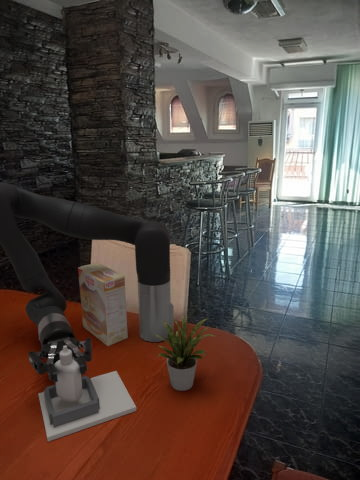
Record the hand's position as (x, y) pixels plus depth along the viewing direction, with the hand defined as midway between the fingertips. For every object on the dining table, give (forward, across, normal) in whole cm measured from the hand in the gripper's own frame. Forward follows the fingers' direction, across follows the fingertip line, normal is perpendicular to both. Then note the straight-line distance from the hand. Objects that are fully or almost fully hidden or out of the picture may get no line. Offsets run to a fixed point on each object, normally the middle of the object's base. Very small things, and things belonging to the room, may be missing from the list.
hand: (69, 374), depth 74 cm
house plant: (+2, +26, +10) cm, 28 cm away
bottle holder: (-2, +3, +10) cm, 11 cm away
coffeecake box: (-30, +15, +11) cm, 36 cm away
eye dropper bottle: (-3, 0, +7) cm, 8 cm away
